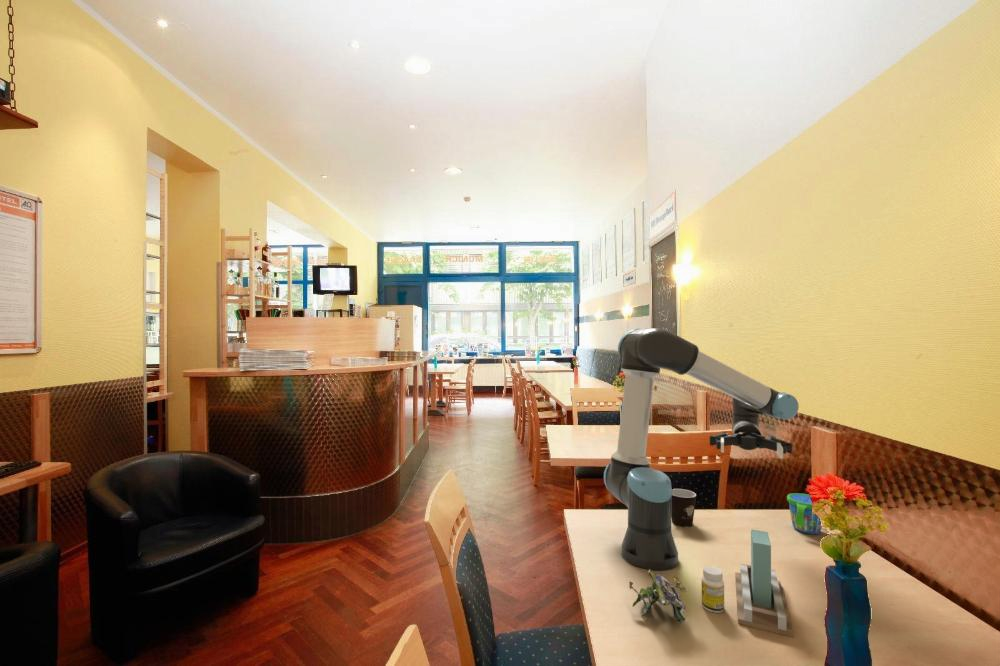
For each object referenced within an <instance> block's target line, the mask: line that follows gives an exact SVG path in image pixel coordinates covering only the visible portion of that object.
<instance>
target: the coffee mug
mask: <svg viewBox="0 0 1000 666" xmlns="http://www.w3.org/2000/svg"><path fill="white" fill-rule="evenodd" d="M696 499H697V493H695V492H694V491H692V490H689V489H683V488H673V489H672V508H671V524H673V525H675V526H677V527H682V528H690V527H693V524H694V516H695V509H696V508H695V507H696V502H697V501H696Z"/></svg>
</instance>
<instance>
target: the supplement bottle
mask: <svg viewBox="0 0 1000 666" xmlns="http://www.w3.org/2000/svg"><path fill="white" fill-rule="evenodd" d="M701 605H702V607H703V608H704V610H706V611H708V612H711V613H716V614H719V613H720V614H721V613H723V612H724V611H725V581H724V579H723V570H722V569H720V568H718V567H715V566H712V565H707V566H703V568H702V576H701Z"/></svg>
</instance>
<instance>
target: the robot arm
mask: <svg viewBox="0 0 1000 666" xmlns="http://www.w3.org/2000/svg"><path fill="white" fill-rule="evenodd" d="M617 352H618V356H619V358H620V359H621V365H620V366H621V367H620V368H621V369H620V370H621V371H622V372H623V374H624V376H625V378H624V386H623V396H622V402H621V403H622V405H621V414H620V423H619V429H618V430H619V432H618V439H617V448H616V449H617V450H616V451H615V452H613V453H612V454H611V457H610V462H609V463H608V464H607V465H606V467H605V469H604V471H603V483H604V485H605V487H606V490H608V492H609V493H610V494H611V495H612V496H613V498H616V500H618V501H620V503H622V504H623V505H624V506H626V507H627V527H626V531H625V534H624V537H623V539H622V542H621V548H620V549H621V552H620V553H621V556H622V558H623V559H624V560H625V561H626V562H628V563H629V564H630V565H633V566H636V567H638V568H641V569H645V570H650V571H651V570H653V571H665V570H670V569H673V568H675V567H676V566H677V565H678V564H679V551H678V549H677V545H676V542H675V539H674V536H673V534H672V533H673V532H672V518H671V508H672V481H671V479H670V477H669V476H668V475H667V474H666V473H664V472H663V471H660V470H658V469H654V468H651V467H650V466H651V461H650V459H648V457H647V455H646V454H647V452H646V451H647V446H648V445H647V444H648V434H649V426H650V417H651V409H652V399H653V390H654V381H655V378H657V377H658V376H659V375H660V372H661V369H663V370H667V371H671V372H674V373H676V374H678V375H680V376H684V375H687V376H689V377H691V378H693V379H695V380H698V381H700V382H701V383H703V384H706V385H707V386H709V387H711V388H713V389H715V390H717V391H719V392H721V393H722V394H723V393H724V395H728V396H729V397H731V398H732V424H731V425H732V427H731V430H732V434H731V435H730V434H729V433H727V432H725V431H722V432H721V433H718V434H714V435H709V446H710V447H711V446H712V447H713V446H716V450H720V453H723V454H724V453H725V447H727V446H728V447H729V446H735V447H739V448H740V449H742V450H745V451H754V450H756V449H767V450H769V451H770V450H771V451H774V452H776V454H777V456H778V458H779V459H784V454H785V455H786V454H793V443H791V442H788V441H786V440H783V439H780V438H778V437H777V438H776V436H772V435H771V436H769V437H768V438H766V437H765V436H763V435H762V433H761V430H760V415H763V416H767V417H772V418H774V419H778V420H790V419H791V420H792V419H793V418H794V417H795V416H796V415H797V414H798V411H799V402H798V400H797V398H796V397H795V396H794V395H792V394H789V393H786V392H779V391H777V390H776V389H774V388H772V387H769V386H768V385H766V384H764V383H761V382H760V381H758V380H756V379H754V378H751V377H750V376H748V375H746V374H745V373H742V372H740V371H738V370H736V369H734V368H733V367H731V366H729V365H728V364H725V363H724V362H721V361H719V360H717V359H715V358H714V357H711V356H709V355H708V354H705V353H704V352H702V351H700V349H699V347H698V346H697V344H694V343H693V342H691V341H688V340H687V339H686V338H683V337H681V336H679V335H678V334H676V333H673V332H671V331H669V330H666V329H663V328H659V327H654V328H652V327H651V328H636V329H632V330H629V331H627V332H626V333H625V334H623V335H622V336H621V338H620V339H619V342H618V345H617Z"/></svg>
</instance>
